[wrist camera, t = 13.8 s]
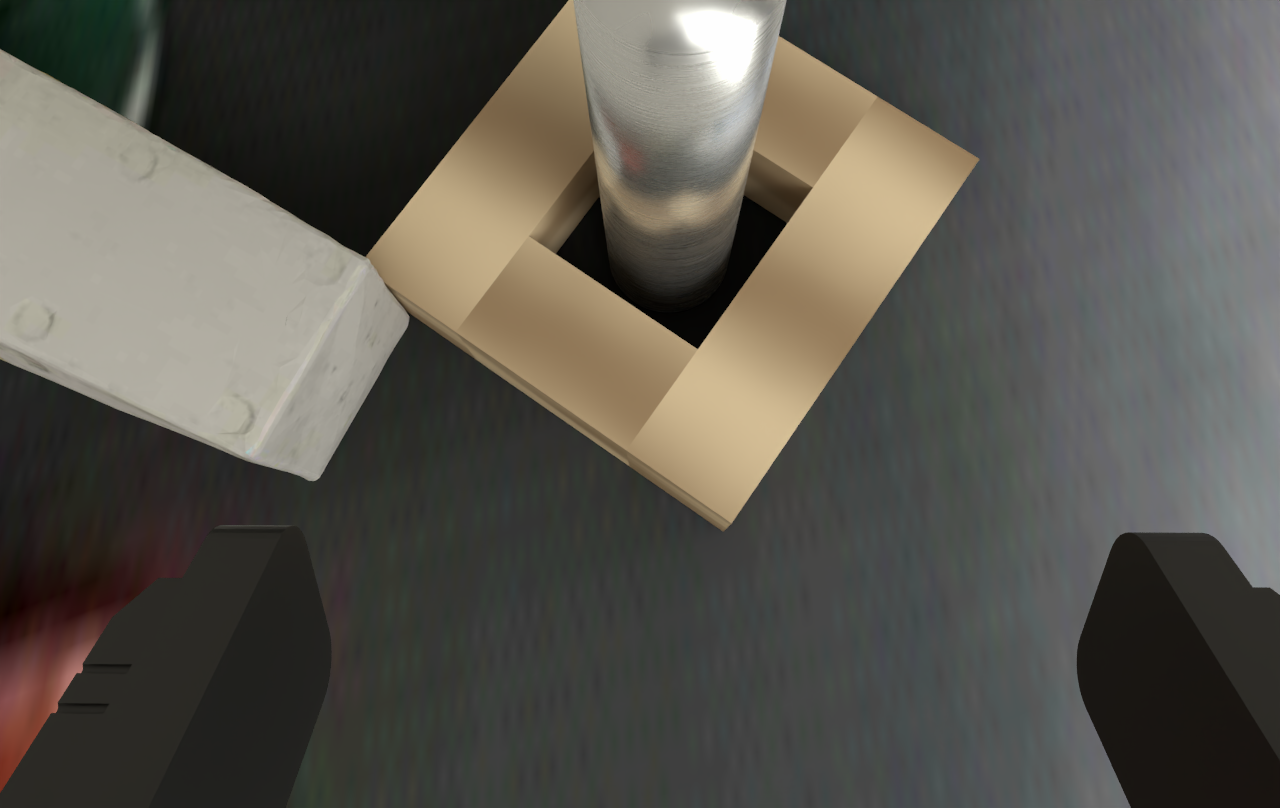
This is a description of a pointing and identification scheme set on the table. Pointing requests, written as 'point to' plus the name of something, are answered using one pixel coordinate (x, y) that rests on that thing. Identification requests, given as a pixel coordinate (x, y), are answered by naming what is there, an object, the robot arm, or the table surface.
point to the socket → (623, 335)
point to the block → (177, 285)
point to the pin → (674, 134)
